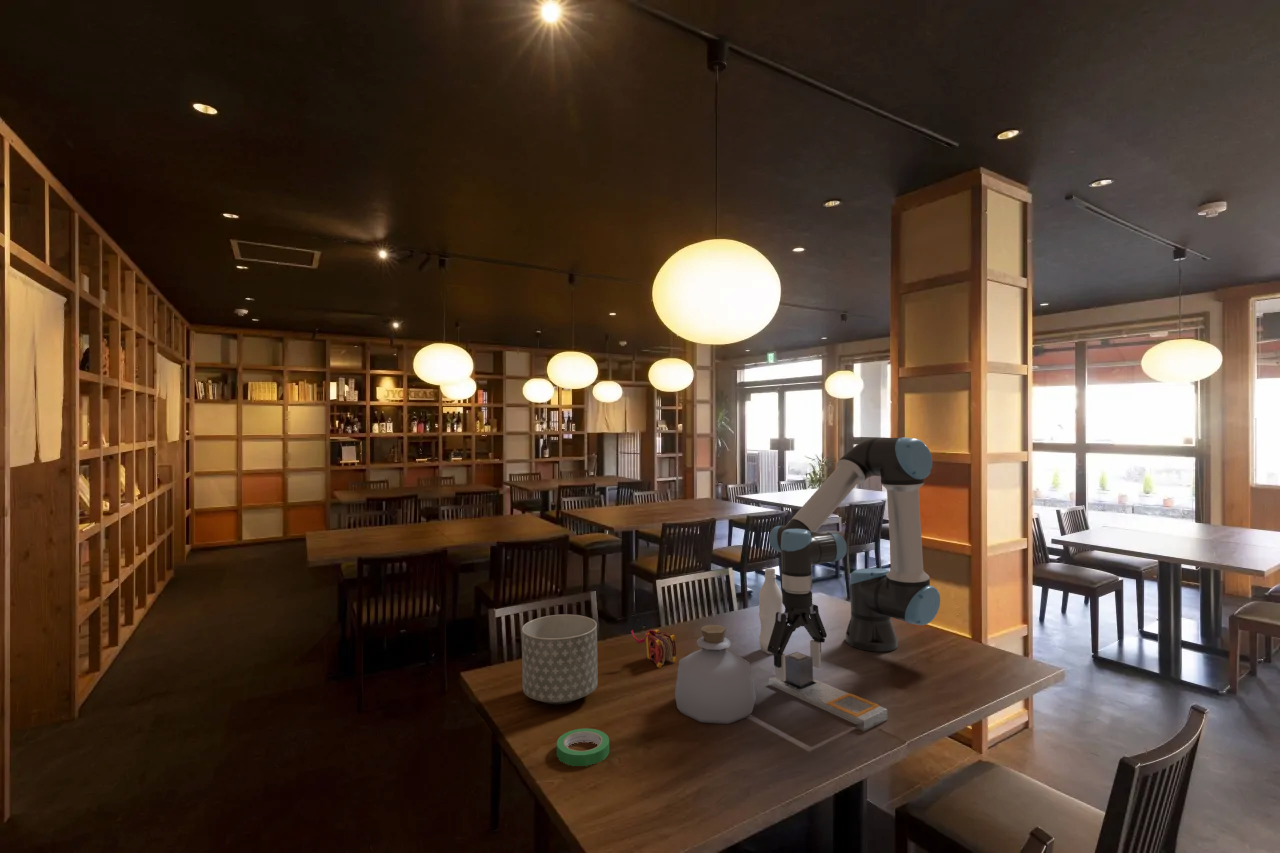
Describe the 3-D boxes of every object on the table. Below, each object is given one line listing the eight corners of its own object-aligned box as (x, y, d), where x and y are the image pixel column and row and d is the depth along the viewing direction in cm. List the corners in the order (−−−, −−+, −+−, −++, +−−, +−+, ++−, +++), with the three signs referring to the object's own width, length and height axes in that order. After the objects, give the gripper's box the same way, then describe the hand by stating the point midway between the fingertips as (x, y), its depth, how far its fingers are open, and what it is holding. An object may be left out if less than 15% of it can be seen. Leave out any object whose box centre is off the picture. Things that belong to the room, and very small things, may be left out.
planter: (567, 675, 162) (566, 610, 162) (613, 696, 149) (612, 625, 149) (508, 697, 149) (507, 626, 149) (552, 723, 135) (551, 644, 136)
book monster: (679, 663, 169) (642, 673, 164) (664, 653, 177) (628, 663, 172) (676, 626, 169) (639, 636, 164) (661, 618, 177) (626, 627, 172)
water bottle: (784, 656, 173) (782, 572, 173) (759, 655, 175) (758, 571, 175) (783, 648, 180) (781, 567, 180) (759, 646, 182) (758, 566, 182)
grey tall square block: (797, 682, 153) (796, 650, 154) (813, 688, 149) (812, 656, 149) (784, 687, 151) (784, 654, 151) (800, 694, 146) (799, 661, 147)
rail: (792, 679, 157) (792, 669, 157) (887, 719, 134) (887, 708, 134) (769, 687, 152) (769, 677, 152) (864, 731, 129) (863, 719, 129)
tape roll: (572, 735, 130) (572, 723, 130) (617, 745, 126) (617, 733, 126) (546, 761, 120) (546, 748, 120) (594, 773, 116) (594, 759, 116)
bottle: (660, 696, 148) (659, 622, 148) (727, 683, 155) (726, 612, 156) (696, 733, 130) (695, 648, 130) (771, 716, 137) (769, 636, 137)
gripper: (816, 579, 160) (817, 657, 160) (752, 595, 146) (753, 679, 146) (839, 585, 154) (841, 665, 154) (774, 601, 140) (776, 690, 140)
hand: (798, 672), depth 150 cm, fingers open, 13 cm apart
